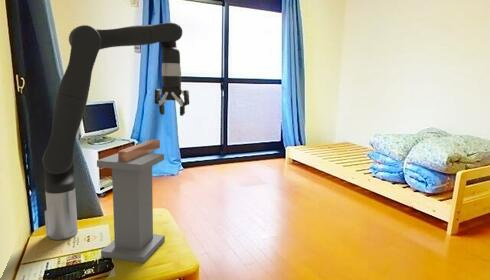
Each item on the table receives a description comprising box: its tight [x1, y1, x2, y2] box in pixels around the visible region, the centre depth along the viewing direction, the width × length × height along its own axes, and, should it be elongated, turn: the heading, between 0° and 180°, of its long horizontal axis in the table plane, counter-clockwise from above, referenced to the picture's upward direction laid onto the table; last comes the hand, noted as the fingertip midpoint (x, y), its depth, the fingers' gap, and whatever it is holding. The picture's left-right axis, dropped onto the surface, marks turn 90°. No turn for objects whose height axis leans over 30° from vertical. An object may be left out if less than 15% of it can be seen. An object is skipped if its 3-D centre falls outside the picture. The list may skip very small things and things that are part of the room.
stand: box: [96, 152, 166, 264], centre depth 105 cm, size 15×15×32 cm
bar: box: [117, 138, 161, 161], centre depth 108 cm, size 3×22×3 cm, turn 169°
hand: (172, 115), depth 131 cm, fingers open, 8 cm apart
